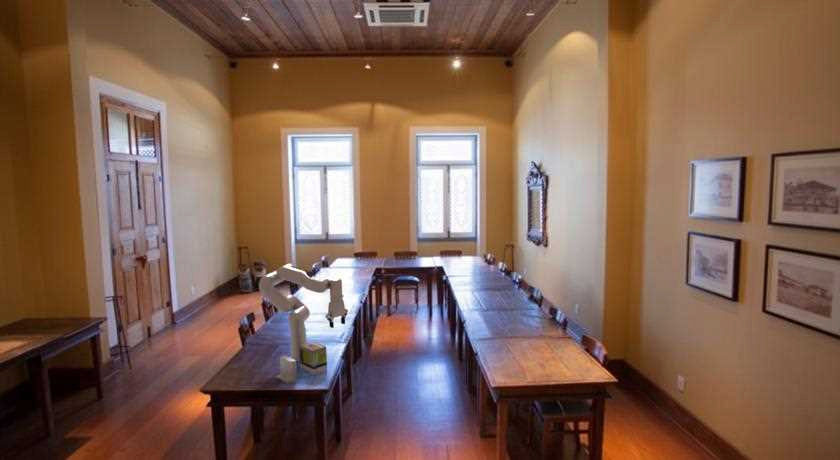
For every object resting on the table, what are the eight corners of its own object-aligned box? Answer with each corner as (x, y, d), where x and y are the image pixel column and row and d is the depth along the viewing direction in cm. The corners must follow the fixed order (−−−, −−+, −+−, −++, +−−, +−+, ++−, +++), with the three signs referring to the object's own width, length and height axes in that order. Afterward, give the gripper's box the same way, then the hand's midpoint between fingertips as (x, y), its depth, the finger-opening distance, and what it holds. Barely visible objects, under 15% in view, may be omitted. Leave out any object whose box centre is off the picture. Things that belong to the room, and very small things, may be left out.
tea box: (327, 370, 274) (326, 346, 272) (313, 375, 267) (311, 351, 265) (314, 363, 285) (313, 340, 283) (299, 368, 278) (298, 344, 276)
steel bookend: (276, 378, 264) (275, 358, 262) (285, 375, 268) (284, 355, 267) (287, 384, 256) (286, 363, 255) (297, 380, 260) (296, 360, 259)
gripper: (343, 294, 294) (344, 321, 296) (321, 300, 281) (322, 328, 283) (351, 296, 289) (352, 323, 291) (328, 302, 276) (329, 330, 278)
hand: (337, 325), depth 287 cm, fingers open, 8 cm apart
